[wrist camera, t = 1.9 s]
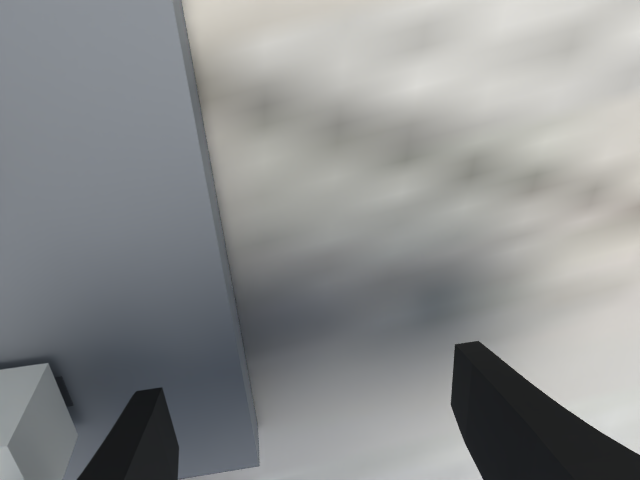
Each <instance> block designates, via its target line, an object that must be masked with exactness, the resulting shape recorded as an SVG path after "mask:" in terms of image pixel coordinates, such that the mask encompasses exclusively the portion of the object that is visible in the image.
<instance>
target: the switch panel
mask: <svg viewBox="0 0 640 480" xmlns="http://www.w3.org/2000/svg"><path fill="white" fill-rule="evenodd" d="M44 363H48V364H49V366H50V368H51V371H52V373H53V376H54V378H55V380H56V383H57V385H58V388H59V390H60V393H61V395H62V397H63V400H64V402H65V405H66V407H67V409H68V412H69V414H70V417H71V419H72V421H73V424H74V426H75V429H76V431H77V434H78V437H77V440H76V443H75V445H74V448H73V451H72V454H71V457H70V460H69V462H68V465H67V468H66V471H65V474H64V477H63V479H62V480H77V478H78V477H79V476H80V474H81V473H82V472H83V470H84V469H85V467H86V466H87V464H88V463H89V462H90V460H91V459H92V457H93V456H94V454H95V453H96V451H97V450H98V448H99V447H100V445H101V444H102V443H103V441H104V440H105V438H106V436H107V435H108V433H109V432H110V430H111V429H112V427H113V426H114V424H115V423H116V421H117V419H118V418H119V416H120V415H121V413H122V411H123V410H124V408H125V407H126V405H127V403H128V402H129V400H130V399H131V397H132V395H133V394H134V393H135V392H136V391H140V390H146V389H153V388H160V387H162V388H163V392H164V395H165V399H166V402H167V406H168V409H169V413H170V416H171V420H172V423H173V427H174V431H175V434H176V438H177V441H178V445H179V464H178V479H184V478H190V477H196V476H203V475H209V474H215V473H221V472H227V471H233V470H239V469H245V468H251V467H258V466H259V438H258V424H257V419H256V413H255V408H254V402H253V397H252V391H251V386H250V380H249V374H248V369H247V363H246V358H245V352H244V347H243V341H242V335H241V330H240V324H239V319H238V313H237V308H236V302H235V297H234V291H233V285H232V280H231V274H230V269H229V263H228V258H227V252H226V247H225V241H224V235H223V230H222V224H221V219H220V213H219V208H218V202H217V197H216V191H215V185H214V180H213V174H212V169H211V163H210V158H209V152H208V146H207V141H206V135H205V130H204V124H203V119H202V113H201V108H200V102H199V96H198V91H197V85H196V80H195V74H194V69H193V63H192V58H191V52H190V46H189V41H188V35H187V30H186V24H185V19H184V13H183V7H182V2H181V0H0V370H2V369H9V368H16V367H23V366H30V365H37V364H44Z"/></svg>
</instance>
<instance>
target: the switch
mask: <svg viewBox="0 0 640 480" xmlns="http://www.w3.org/2000/svg"><path fill="white" fill-rule="evenodd" d="M77 437H78V434H77V431H76V429H75V426H74V424H73V421H72V419H71V417H70V414H69V412H68V409H67V407H66V405H65V402H64V400H63V397H62V395H61V393H60V390H59V388H58V385H57V383H56V380H55V378H54V376H53V373H52V371H51V368H50V366H49V364H48V363H44V364H37V365H30V366H23V367H16V368H9V369H2V370H0V480H62V479H63V477H64V474H65V471H66V468H67V465H68V462H69V460H70V457H71V454H72V451H73V448H74V445H75V443H76V440H77Z"/></svg>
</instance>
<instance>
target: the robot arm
mask: <svg viewBox="0 0 640 480" xmlns="http://www.w3.org/2000/svg"><path fill="white" fill-rule="evenodd" d="M451 407H452V409H453V412H454V415H455V418H456V421H457V423H458V426H459V429H460V431H461V434H462V437H463V439H464V442H465V444H466V446H467V448H468V450H469V452H470V454H471V456H472V458H473V460H474V462H475V464H476V466H477V468H478V470H479V472H480V474H481V476H482V478H483V480H640V455H639V454H637V453H635V452H633V451H632V450H630V449H628V448H627V447H625V446H623V445H621V444H620V443H618V442H616V441H615V440H613V439H611V438H610V437H608V436H606V435H605V434H603V433H601V432H600V431H598V430H597V429H595V428H594V427H592V426H590V425H589V424H587V423H586V422H584V421H583V420H581V419H580V418H579V417H577V416H576V415H574V414H573V413H571V412H570V411H568V410H567V409H565V408H564V407H562V406H561V405H560V404H558V403H557V402H556V401H554V400H553V399H551V398H550V397H549V396H547V395H546V394H545V393H543V392H542V391H541V390H539V389H538V388H537V387H535V386H534V385H533V384H531V383H530V382H529V381H528V380H526V379H525V378H524V377H523V376H521V375H520V374H519V373H518V372H516V371H515V370H514V369H513V368H511V367H510V366H509V365H508V364H506V363H505V362H504V361H503V360H501V359H500V358H499V357H498V356H496V355H495V354H494V353H493V352H492V351H490V350H489V349H488V348H487V347H485V346H484V345H483V344H482V343H480V342H479V341H476V342H469V343H462V344H455V352H454V367H453V381H452V396H451ZM178 464H179V445H178V441H177V438H176V434H175V431H174V427H173V423H172V420H171V416H170V413H169V409H168V406H167V402H166V399H165V395H164V392H163V388H162V387H160V388H153V389H146V390H140V391H136V392H135V393H134V394H133V395H132V397H131V399H130V400H129V402H128V403H127V405H126V407H125V408H124V410H123V411H122V413H121V415H120V416H119V418H118V419H117V421H116V423H115V424H114V426H113V427H112V429H111V430H110V432H109V433H108V435H107V436H106V438H105V440H104V441H103V443H102V444H101V445H100V447H99V448H98V450H97V451H96V453H95V454H94V456H93V457H92V459H91V460H90V462H89V463H88V464H87V466H86V467H85V469H84V470H83V472H82V473H81V474H80V476H79V477H78V478H77V480H178Z"/></svg>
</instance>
